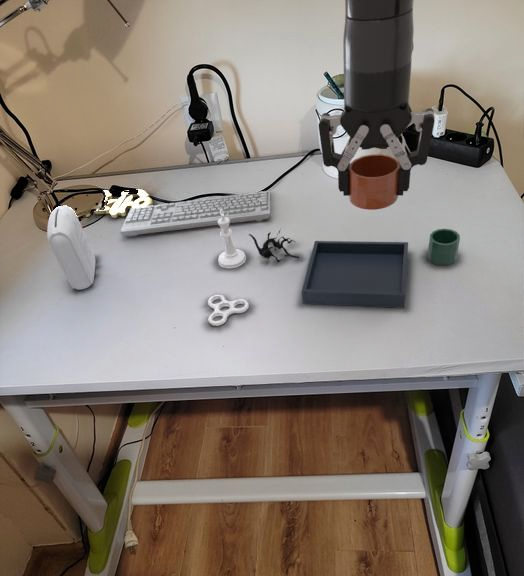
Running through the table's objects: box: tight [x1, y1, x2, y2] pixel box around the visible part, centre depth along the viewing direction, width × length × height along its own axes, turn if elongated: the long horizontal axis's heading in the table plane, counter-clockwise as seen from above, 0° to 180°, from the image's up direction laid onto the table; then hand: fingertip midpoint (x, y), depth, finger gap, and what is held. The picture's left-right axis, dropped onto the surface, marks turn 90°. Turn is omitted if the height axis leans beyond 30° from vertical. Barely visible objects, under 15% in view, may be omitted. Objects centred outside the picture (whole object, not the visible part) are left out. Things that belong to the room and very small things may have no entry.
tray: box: [301, 240, 409, 309], centre depth 80 cm, size 15×13×2 cm
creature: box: [248, 228, 300, 263], centre depth 87 cm, size 8×5×8 cm
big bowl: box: [348, 153, 400, 211], centre depth 68 cm, size 6×6×4 cm
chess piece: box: [217, 209, 247, 269], centre depth 86 cm, size 5×5×10 cm
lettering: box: [84, 189, 154, 219], centre depth 109 cm, size 25×10×1 cm, turn 80°
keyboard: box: [119, 190, 271, 238], centre depth 100 cm, size 29×10×2 cm, turn 90°
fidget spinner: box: [207, 294, 250, 327], centre depth 80 cm, size 7×6×1 cm
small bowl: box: [427, 228, 461, 267], centre depth 80 cm, size 4×4×4 cm
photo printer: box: [46, 205, 96, 291], centre depth 88 cm, size 10×4×12 cm, turn 11°
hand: (373, 192), depth 69 cm, fingers closed on big bowl, 6 cm apart
